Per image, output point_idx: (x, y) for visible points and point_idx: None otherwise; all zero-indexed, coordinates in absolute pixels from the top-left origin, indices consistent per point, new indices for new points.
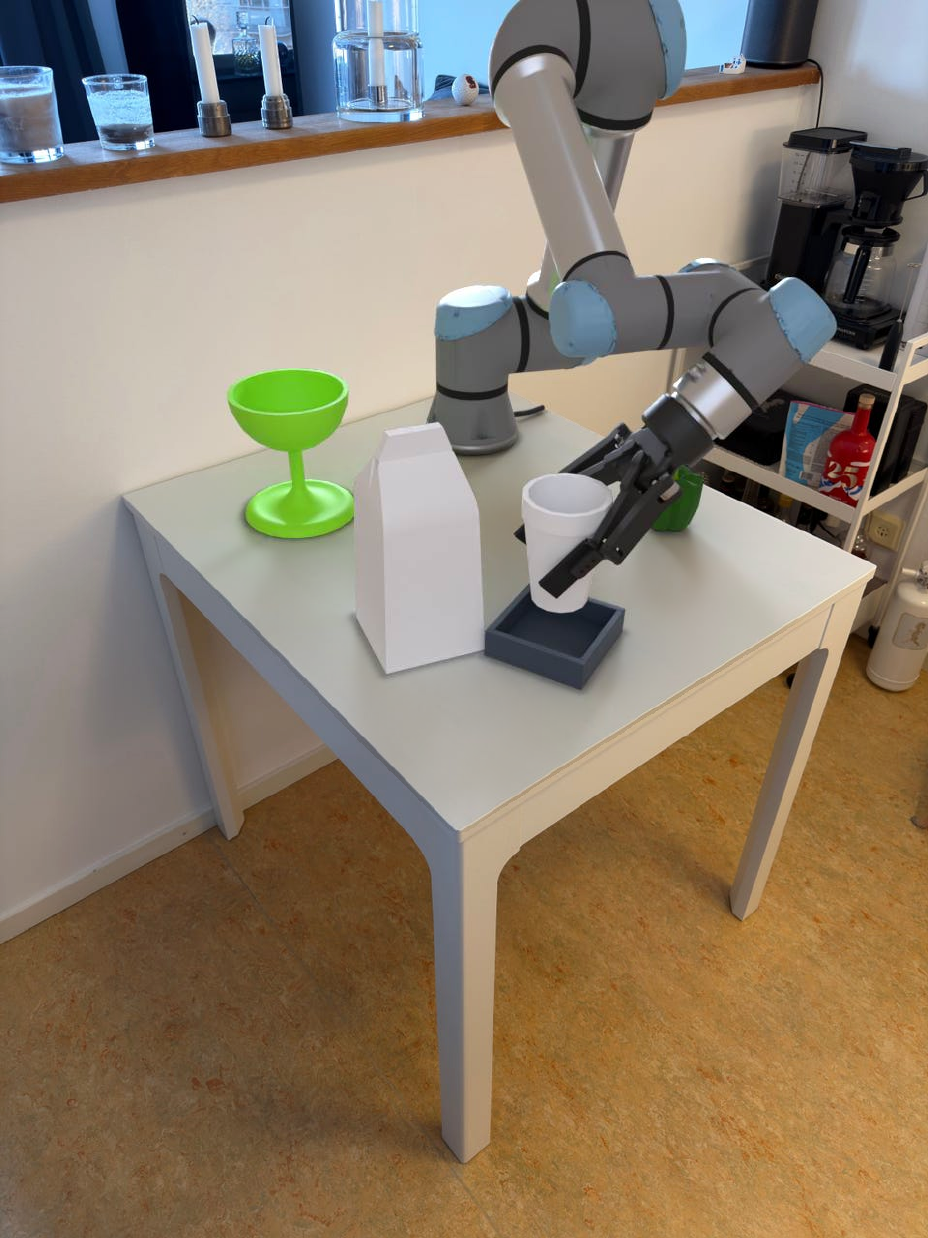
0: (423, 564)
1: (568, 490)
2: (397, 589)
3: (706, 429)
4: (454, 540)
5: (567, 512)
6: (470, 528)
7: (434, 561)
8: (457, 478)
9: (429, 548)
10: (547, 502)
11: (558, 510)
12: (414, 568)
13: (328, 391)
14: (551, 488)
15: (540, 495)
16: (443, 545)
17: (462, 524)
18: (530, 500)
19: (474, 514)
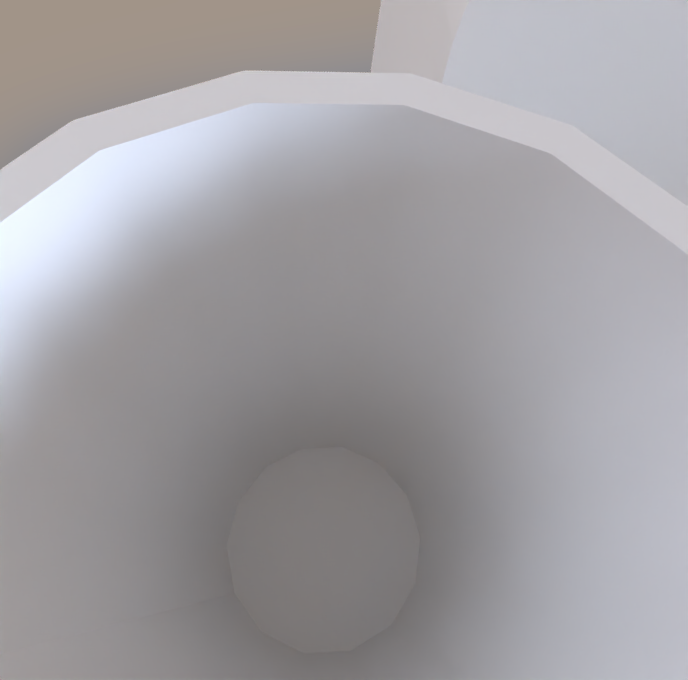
0: (394, 47)
1: (668, 661)
2: (378, 56)
3: None
4: (417, 56)
5: (539, 633)
6: (434, 65)
7: (396, 68)
8: None
9: (405, 6)
10: (595, 466)
11: (564, 568)
12: (390, 35)
13: None
14: (685, 475)
15: (612, 376)
16: (410, 39)
17: (436, 11)
18: (349, 99)
19: (453, 7)
